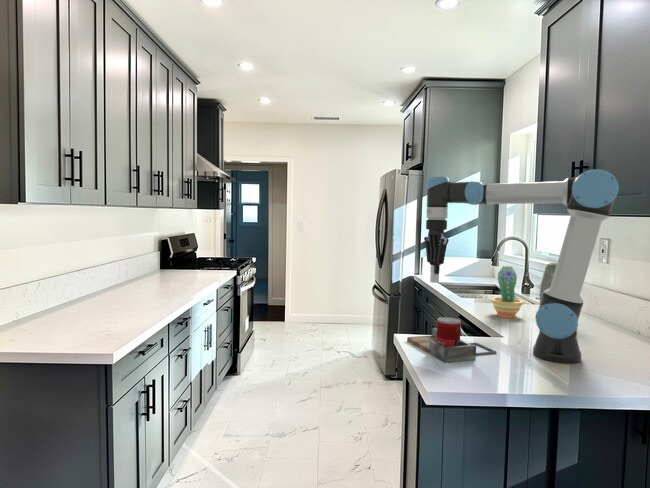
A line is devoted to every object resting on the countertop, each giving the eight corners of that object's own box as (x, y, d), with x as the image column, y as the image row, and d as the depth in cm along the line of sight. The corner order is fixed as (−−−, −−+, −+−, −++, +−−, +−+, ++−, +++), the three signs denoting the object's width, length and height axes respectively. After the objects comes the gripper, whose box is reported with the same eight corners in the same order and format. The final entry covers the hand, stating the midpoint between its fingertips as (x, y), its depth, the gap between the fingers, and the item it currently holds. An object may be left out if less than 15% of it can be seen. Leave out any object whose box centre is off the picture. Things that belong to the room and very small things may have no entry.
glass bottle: (560, 324, 201) (564, 264, 199) (536, 320, 207) (540, 262, 206) (564, 320, 209) (567, 263, 207) (541, 317, 215) (544, 261, 213)
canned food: (460, 354, 148) (461, 323, 148) (436, 352, 150) (437, 321, 150) (459, 348, 156) (460, 318, 155) (436, 346, 158) (437, 316, 157)
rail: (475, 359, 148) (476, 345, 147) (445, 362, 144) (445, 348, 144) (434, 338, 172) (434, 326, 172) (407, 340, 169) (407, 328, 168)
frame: (497, 353, 155) (497, 351, 155) (472, 355, 152) (473, 354, 152) (476, 343, 167) (476, 342, 167) (453, 345, 164) (453, 344, 163)
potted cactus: (484, 314, 218) (486, 265, 216) (499, 310, 228) (501, 263, 226) (513, 320, 206) (516, 268, 205) (528, 316, 216) (531, 266, 215)
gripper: (418, 218, 165) (416, 280, 166) (437, 219, 153) (435, 285, 154) (435, 219, 167) (433, 279, 169) (455, 219, 155) (453, 284, 156)
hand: (434, 282), depth 161 cm, fingers closed
